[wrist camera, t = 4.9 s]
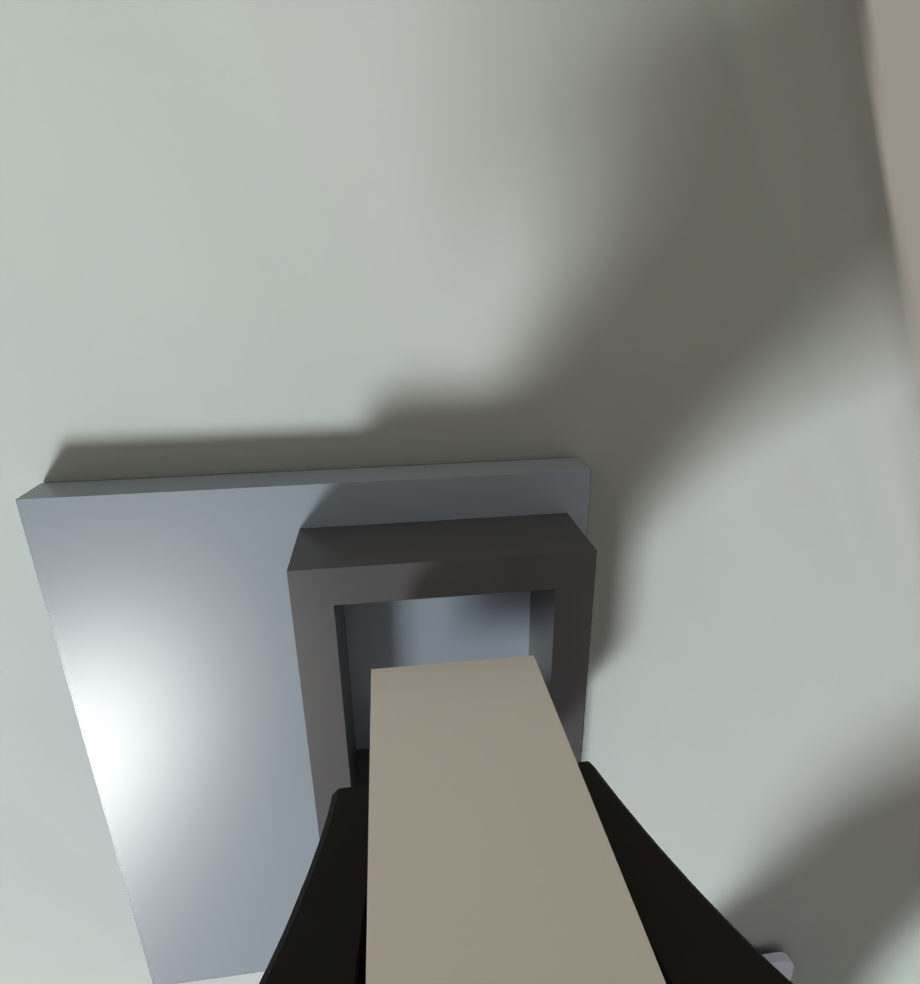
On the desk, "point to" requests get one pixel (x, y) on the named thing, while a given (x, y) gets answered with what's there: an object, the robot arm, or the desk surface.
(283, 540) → the board
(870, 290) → the desk surface
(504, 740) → the plug
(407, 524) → the frame
